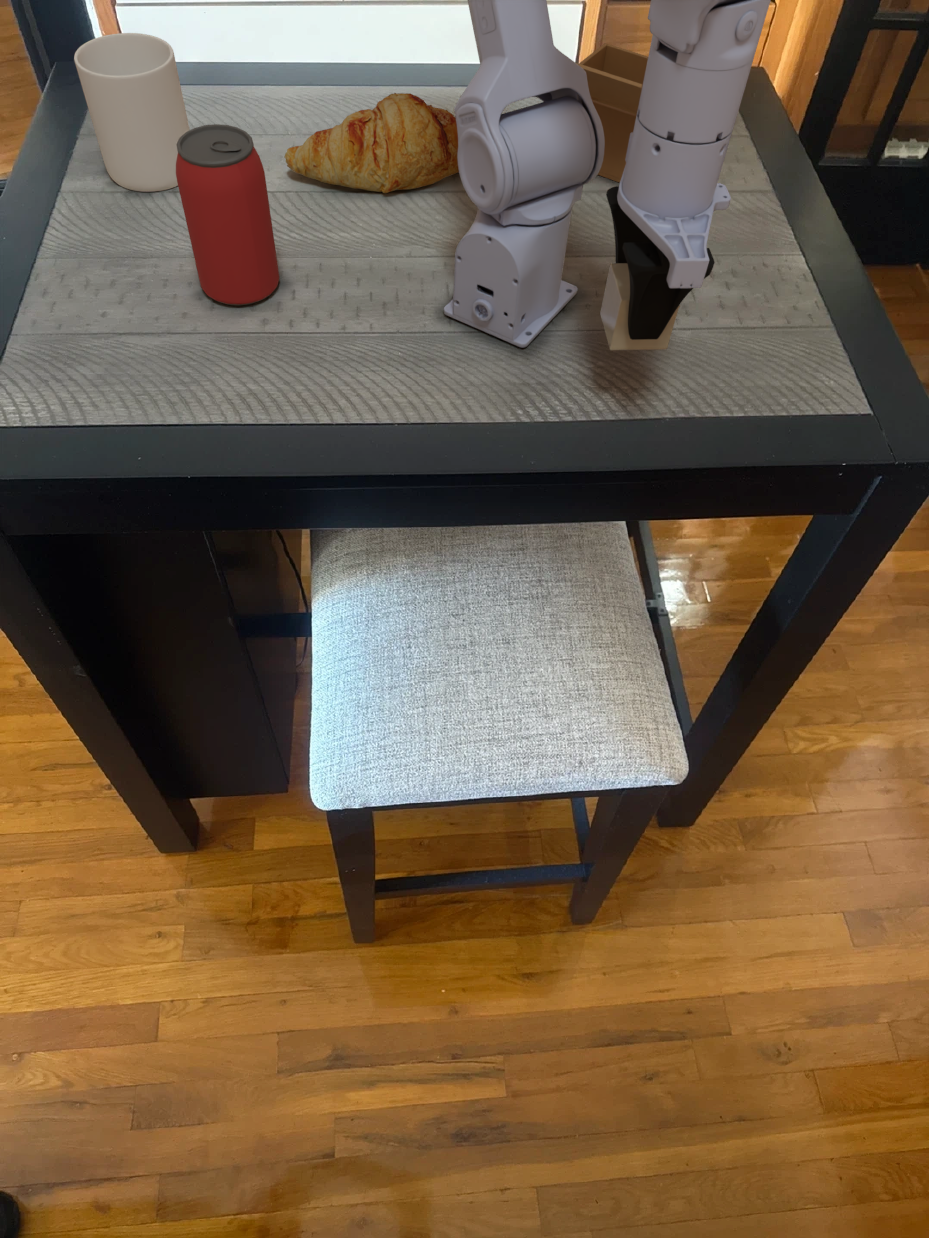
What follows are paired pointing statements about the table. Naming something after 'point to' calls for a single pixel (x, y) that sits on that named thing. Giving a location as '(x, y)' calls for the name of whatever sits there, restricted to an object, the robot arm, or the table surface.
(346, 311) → the table surface
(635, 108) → the flap
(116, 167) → the cup
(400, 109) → the croissant
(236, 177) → the beer can
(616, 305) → the block
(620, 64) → the carton
